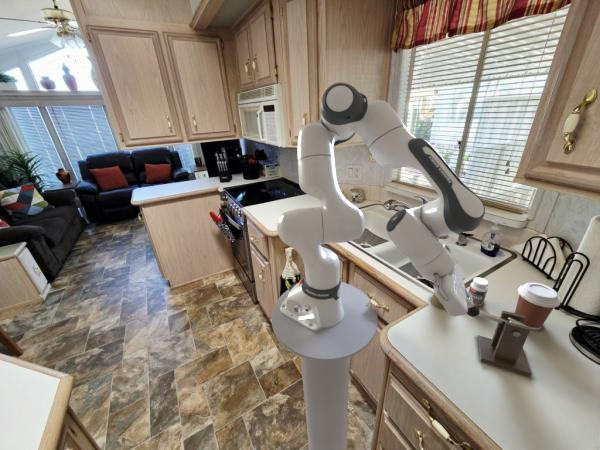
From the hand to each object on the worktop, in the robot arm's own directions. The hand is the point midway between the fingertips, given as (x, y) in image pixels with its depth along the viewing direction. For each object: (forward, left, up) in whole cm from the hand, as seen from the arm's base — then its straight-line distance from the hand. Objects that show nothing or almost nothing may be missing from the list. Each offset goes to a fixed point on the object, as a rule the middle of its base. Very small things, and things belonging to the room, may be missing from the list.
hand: (470, 304), depth 64 cm
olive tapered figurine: (-5, +16, -14) cm, 22 cm away
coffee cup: (+18, +17, -14) cm, 29 cm away
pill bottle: (+5, +21, -14) cm, 26 cm away
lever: (+5, 0, -4) cm, 6 cm away
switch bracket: (+9, 0, -14) cm, 17 cm away
